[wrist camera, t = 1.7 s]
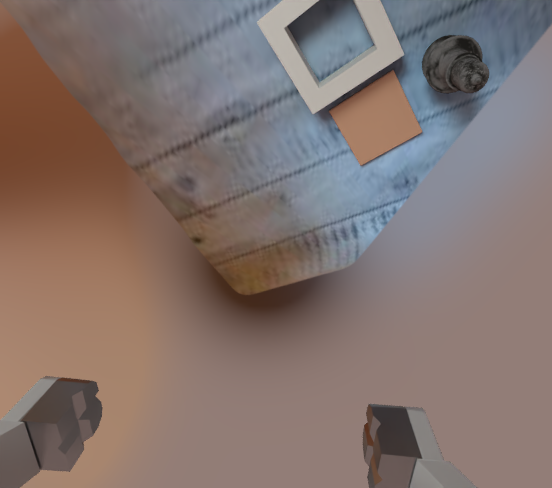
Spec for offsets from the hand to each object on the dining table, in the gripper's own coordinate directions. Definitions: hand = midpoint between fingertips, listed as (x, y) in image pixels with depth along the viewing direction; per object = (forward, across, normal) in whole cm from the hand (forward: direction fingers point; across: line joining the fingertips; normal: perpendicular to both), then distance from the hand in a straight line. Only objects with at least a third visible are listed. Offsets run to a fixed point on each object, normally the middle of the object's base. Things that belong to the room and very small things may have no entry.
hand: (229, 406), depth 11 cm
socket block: (+41, -4, -16) cm, 44 cm away
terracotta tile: (+43, -11, -6) cm, 45 cm away
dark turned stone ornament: (+42, -18, -14) cm, 47 cm away
